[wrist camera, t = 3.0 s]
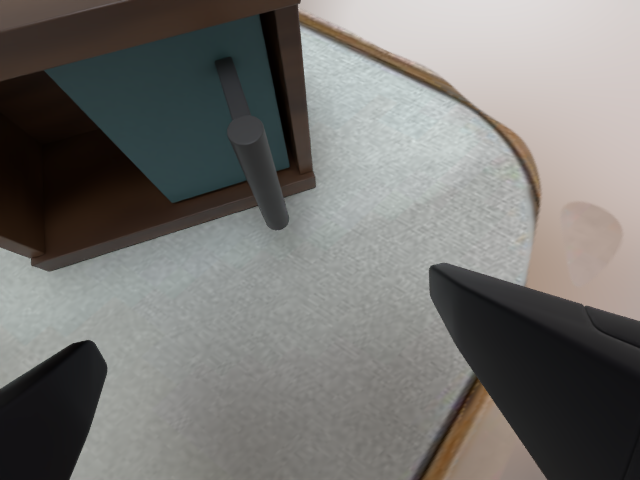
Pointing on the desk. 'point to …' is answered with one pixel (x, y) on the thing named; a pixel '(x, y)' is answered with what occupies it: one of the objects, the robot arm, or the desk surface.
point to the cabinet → (95, 146)
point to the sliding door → (191, 111)
